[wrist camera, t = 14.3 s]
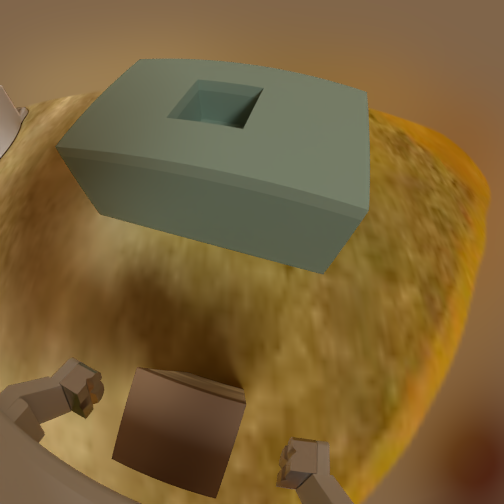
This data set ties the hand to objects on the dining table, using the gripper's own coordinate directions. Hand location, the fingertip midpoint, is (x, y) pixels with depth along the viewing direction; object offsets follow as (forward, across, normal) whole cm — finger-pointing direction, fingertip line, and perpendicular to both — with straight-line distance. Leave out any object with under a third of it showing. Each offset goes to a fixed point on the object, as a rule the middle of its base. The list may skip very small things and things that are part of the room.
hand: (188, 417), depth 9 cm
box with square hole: (+18, +4, -6) cm, 20 cm away
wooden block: (+6, 0, +6) cm, 8 cm away
